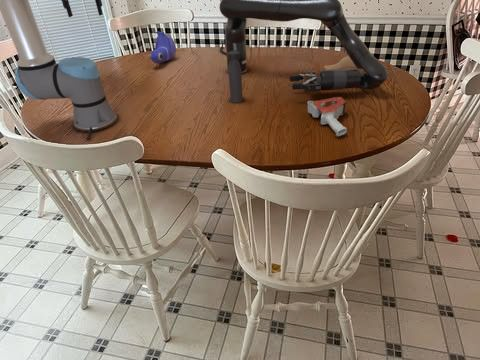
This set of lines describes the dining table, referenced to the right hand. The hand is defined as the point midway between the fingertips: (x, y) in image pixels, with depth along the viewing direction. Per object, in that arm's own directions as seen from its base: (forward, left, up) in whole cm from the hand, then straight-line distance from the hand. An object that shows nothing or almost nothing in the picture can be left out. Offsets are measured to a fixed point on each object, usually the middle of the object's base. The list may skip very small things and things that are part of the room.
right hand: (291, 82), depth 139 cm
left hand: (-35, -87, +22) cm, 97 cm away
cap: (0, -22, +12) cm, 25 cm away
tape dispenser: (+22, +10, -6) cm, 25 cm away
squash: (-21, +27, -6) cm, 35 cm away
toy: (-53, -61, -6) cm, 81 cm away
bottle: (0, -22, -6) cm, 23 cm away
